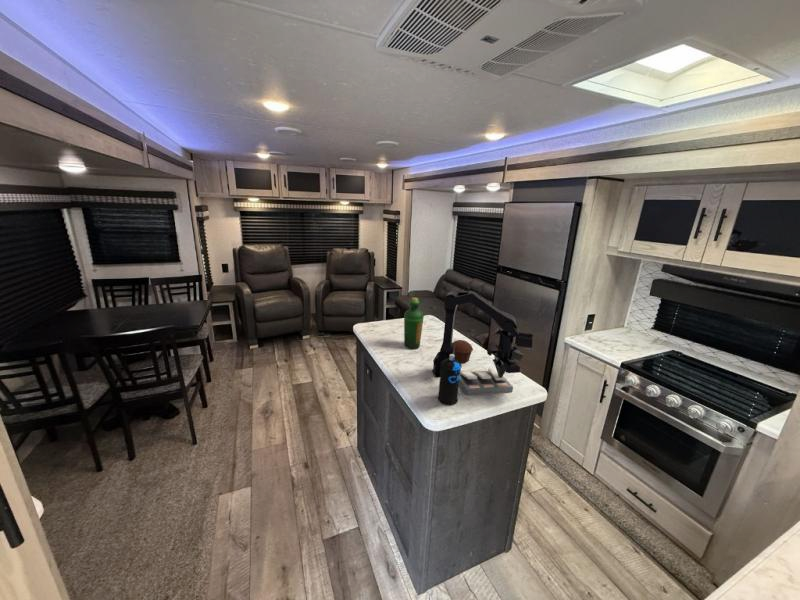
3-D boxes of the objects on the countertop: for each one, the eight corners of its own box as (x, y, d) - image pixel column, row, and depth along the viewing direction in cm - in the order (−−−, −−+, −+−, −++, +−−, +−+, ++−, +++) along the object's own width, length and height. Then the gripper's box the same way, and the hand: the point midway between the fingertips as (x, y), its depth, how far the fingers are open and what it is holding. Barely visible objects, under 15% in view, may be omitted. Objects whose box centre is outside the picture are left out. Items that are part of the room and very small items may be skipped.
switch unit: (466, 395, 130) (467, 389, 129) (454, 377, 143) (455, 372, 142) (512, 391, 134) (513, 386, 133) (497, 375, 147) (497, 370, 146)
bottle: (424, 349, 170) (428, 300, 162) (406, 351, 166) (409, 302, 158) (416, 341, 179) (419, 295, 171) (399, 343, 175) (401, 296, 167)
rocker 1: (468, 380, 133) (468, 376, 133) (461, 375, 141) (461, 372, 141) (477, 379, 133) (477, 376, 133) (469, 375, 141) (469, 371, 141)
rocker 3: (496, 381, 135) (496, 378, 135) (488, 371, 143) (488, 368, 142) (504, 380, 136) (505, 377, 136) (496, 370, 144) (496, 368, 143)
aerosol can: (433, 398, 126) (437, 354, 120) (445, 391, 132) (450, 348, 126) (449, 408, 121) (454, 362, 115) (461, 399, 126) (467, 355, 121)
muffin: (444, 358, 161) (446, 340, 158) (456, 352, 168) (458, 335, 165) (463, 367, 153) (466, 348, 150) (475, 360, 160) (478, 342, 158)
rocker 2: (482, 380, 134) (482, 376, 134) (474, 374, 142) (474, 370, 142) (491, 379, 135) (491, 376, 135) (482, 373, 142) (483, 370, 142)
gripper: (535, 353, 124) (529, 387, 128) (511, 335, 142) (506, 366, 146) (509, 354, 122) (504, 389, 126) (488, 336, 140) (484, 367, 144)
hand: (500, 377), depth 136 cm, fingers closed
